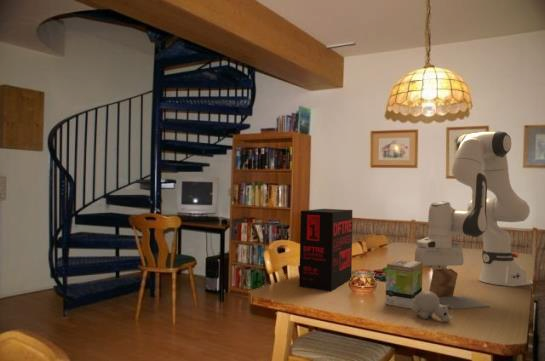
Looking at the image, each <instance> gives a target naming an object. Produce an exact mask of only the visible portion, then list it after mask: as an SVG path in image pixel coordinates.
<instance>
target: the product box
mask: <svg viewBox="0 0 545 361" xmlns="http://www.w3.org/2000/svg"><path fill="white" fill-rule="evenodd" d="M299 232H300V233H299V236H300V237H299V239H300V240H299V284H298V287H299V288H304V289H311V290H318V291H319V290H320V291H325V292H333V291H334V290H336V289H338V288H340V287H341V286H343V285H344V284H346V283H348V282H349V281H351V280H350V278H351V279H352V270H353V269H352V266H353V264H352V263H353V262H352V261H353V260H352V256H353V209H338V208H336V209H335V208H316V209H307V210H306V209H305V210H300V230H299Z"/></svg>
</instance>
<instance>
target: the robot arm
mask: <svg viewBox="0 0 545 361" xmlns="http://www.w3.org/2000/svg"><path fill="white" fill-rule="evenodd" d="M511 147H512V138H511V136H510V134H508V133H507V132H506V131H498V130H496V131H481V132H475V133H466V134H463V135H461V136H460V137H459V138H458V139H457V140H456V153H455V155H454V160H453V164H452V167H451V171H452V172H451V173H452V176H453V177H454V179H455V180H456V181H458V182H459V183H460V184H463V185H465V186H467V187H469V188H471V191H472V192H471V193H472V194H471V200H469V202H468V203H467V210H458V209H455V208H453V207H452V205H451V202H448V201H435V202H432V203H431V204H430V205H429V209H428V216H427V217H428V219H427V221H428V222H427V224H428V233H427V236H426V237H424V238H421V239H418V240H416V246H417V247H416V248H415V253H414V261H417V262H422V263H423V267H431V269H432V271H433V270H434V269H448V268H447V267H449V266H450V267H451V266H452V267H453V266H455V267H456V266H463V265H464V251H463V245H462V243H460V242H459V241H453V240H452V239H453V238H452V237H453V234H456V235H461V236H462V235H463V236H464V235H465V236H467V237H472V238H478V237H480V236H481V235H482V239H483V240H482V241H483V242H482V243H483V244H482V245H483V249H482V252H481V253H482V256H481V258H482V264H481V266H482V267H481V272H480V276H479V279H478V280H479V281H480V282H483V283H485V284H486V283H487V284H491V285H498V286H505V287H522V286H529V285H533V284H534V282H533V281H532V280H530V279H528V277H527V272H526V270H525V268H524V267H522V266H521V265H520V264H519V263H517V262H516V261H515V258H516V259H517V258H519V257H520V255H519V254H518V253H517V252H516V253H515V252H511V251H512V250H511V248H512V245H511V243H512V241H511V240H512V239H511V236H510V234H509V233H508V231H506V230H505V229H502V228H501V227H500V226H499V225H498V222H502V223H504V222H505V223H518V222H525V221H526V220H527V219H528V217H529V215H530V213H531V212H530V211H531V210H530V206H529V204H528V202H527V201H526V200H524V199H523V198H522V197H520V196H519V195H518V194H517V193H516V191H515V190H514V189H513V188H512V185H511V181H510V180H511V179H510V174H509V164H508V159H507V157H508V156H507V155H508V153H509V152H510V150H511ZM488 191H490V192H492V194H494V195H495V197H489V196H488ZM439 267H440V268H439Z"/></svg>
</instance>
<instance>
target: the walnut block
mask: <svg viewBox="0 0 545 361" xmlns="http://www.w3.org/2000/svg"><path fill="white" fill-rule="evenodd" d="M458 276H459V275H458V272H457V271H456V270H453V269H452V268H447V269H441V268H438V269H434V270H433V269H432V277H431V279H430V286H429V290H428V291H431V292H433V293H434V294H436V295H437V297H447V296H454V294H455V293H454V292H455V288H456V284H457V279H458Z"/></svg>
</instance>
